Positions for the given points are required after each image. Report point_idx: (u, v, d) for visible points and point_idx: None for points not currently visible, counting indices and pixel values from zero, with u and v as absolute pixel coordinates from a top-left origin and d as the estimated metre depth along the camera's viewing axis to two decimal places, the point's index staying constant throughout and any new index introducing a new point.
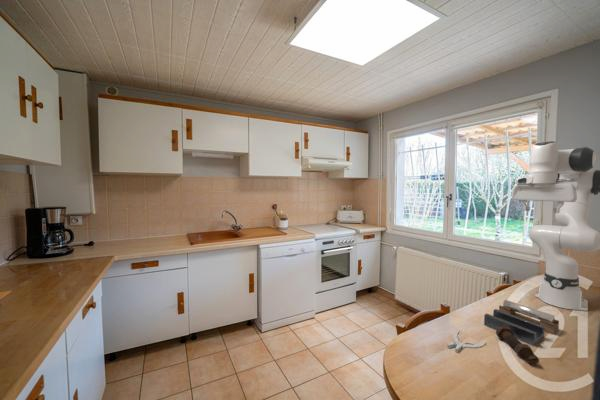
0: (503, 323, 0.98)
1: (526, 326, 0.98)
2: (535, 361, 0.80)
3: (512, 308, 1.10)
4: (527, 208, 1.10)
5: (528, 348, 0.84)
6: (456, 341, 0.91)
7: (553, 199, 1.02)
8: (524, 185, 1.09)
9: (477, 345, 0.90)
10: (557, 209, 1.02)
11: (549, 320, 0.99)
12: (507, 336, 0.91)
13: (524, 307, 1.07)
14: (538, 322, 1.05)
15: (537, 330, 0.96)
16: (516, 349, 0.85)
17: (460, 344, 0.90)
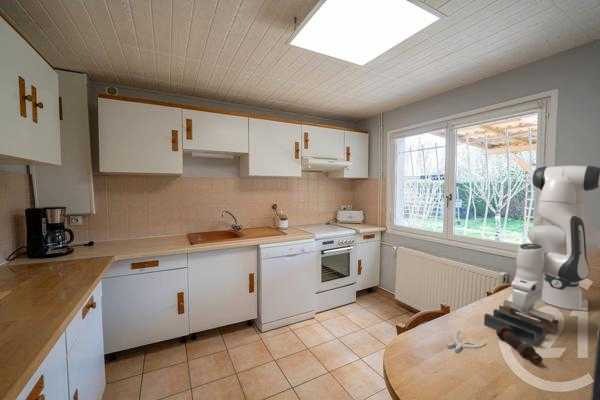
0: (503, 323, 0.98)
1: (526, 326, 0.98)
2: (539, 360, 0.81)
3: (512, 308, 1.10)
4: (528, 312, 1.05)
5: (531, 347, 0.84)
6: (456, 341, 0.91)
7: (537, 300, 1.07)
8: (531, 292, 1.01)
9: (477, 345, 0.90)
10: None
11: (549, 320, 0.99)
12: (508, 336, 0.91)
13: None
14: (538, 322, 1.05)
15: (537, 330, 0.96)
16: (519, 349, 0.85)
17: (460, 344, 0.90)
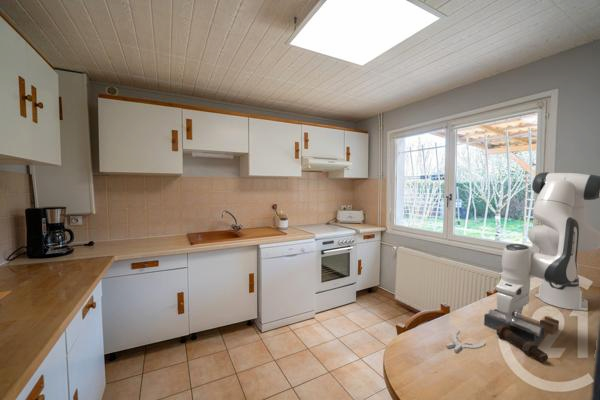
0: (503, 323, 0.98)
1: None
2: (545, 358, 0.82)
3: None
4: None
5: (535, 345, 0.85)
6: (455, 341, 0.91)
7: (523, 304, 1.00)
8: (517, 296, 0.94)
9: (476, 345, 0.90)
10: None
11: None
12: (509, 335, 0.92)
13: None
14: (538, 322, 1.05)
15: None
16: (524, 348, 0.86)
17: (459, 344, 0.89)
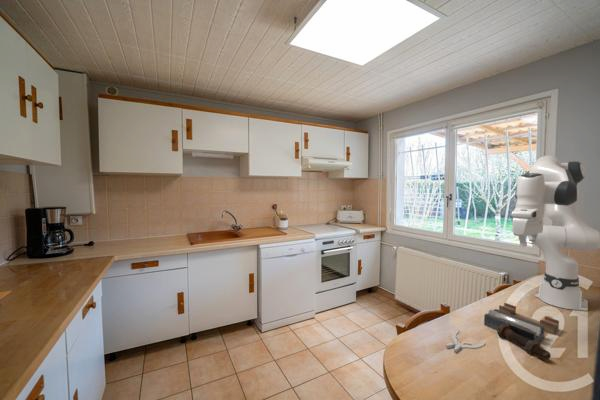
0: (503, 323, 0.98)
1: None
2: (548, 357, 0.82)
3: None
4: (526, 243, 1.01)
5: (537, 344, 0.86)
6: (455, 341, 0.91)
7: (538, 231, 1.04)
8: (532, 219, 0.98)
9: (476, 346, 0.90)
10: None
11: None
12: (511, 334, 0.93)
13: (509, 318, 1.00)
14: (538, 322, 1.05)
15: None
16: (527, 347, 0.86)
17: (459, 344, 0.89)
